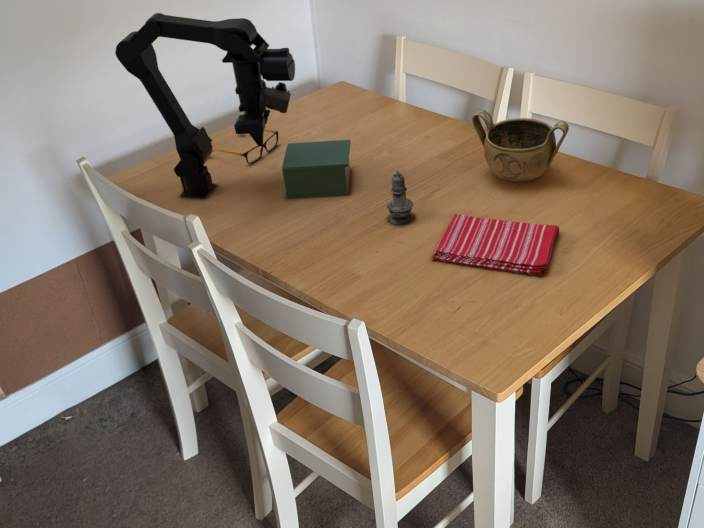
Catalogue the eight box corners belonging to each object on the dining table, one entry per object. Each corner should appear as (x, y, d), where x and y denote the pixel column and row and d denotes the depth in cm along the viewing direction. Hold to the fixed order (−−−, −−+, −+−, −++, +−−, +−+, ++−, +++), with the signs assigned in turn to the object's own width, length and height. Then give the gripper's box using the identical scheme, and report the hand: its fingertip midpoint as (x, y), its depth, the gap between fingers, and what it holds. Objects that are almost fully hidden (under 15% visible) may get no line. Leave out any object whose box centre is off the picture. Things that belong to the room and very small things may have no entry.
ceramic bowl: (461, 184, 189) (460, 125, 180) (487, 152, 200) (487, 95, 191) (552, 200, 180) (556, 139, 171) (574, 166, 192) (579, 107, 182)
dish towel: (545, 278, 157) (545, 266, 156) (430, 261, 165) (430, 250, 163) (561, 232, 169) (562, 221, 168) (454, 219, 177) (454, 208, 175)
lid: (350, 142, 195) (350, 139, 194) (348, 166, 185) (347, 163, 184) (288, 146, 196) (287, 143, 195) (282, 170, 186) (281, 167, 185)
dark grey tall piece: (395, 228, 176) (391, 179, 169) (383, 216, 180) (378, 169, 173) (418, 220, 178) (416, 171, 170) (406, 209, 182) (402, 161, 175)
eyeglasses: (249, 168, 204) (246, 153, 202) (207, 157, 211) (203, 143, 208) (283, 144, 213) (280, 130, 211) (241, 135, 220) (238, 121, 217)
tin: (350, 169, 199) (347, 142, 195) (348, 194, 189) (344, 167, 185) (292, 173, 200) (288, 146, 196) (287, 198, 190) (282, 171, 186)
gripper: (280, 95, 168) (290, 162, 178) (289, 62, 183) (298, 125, 193) (228, 98, 169) (241, 165, 179) (241, 65, 183) (253, 128, 193)
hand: (260, 145), depth 186 cm, fingers closed
